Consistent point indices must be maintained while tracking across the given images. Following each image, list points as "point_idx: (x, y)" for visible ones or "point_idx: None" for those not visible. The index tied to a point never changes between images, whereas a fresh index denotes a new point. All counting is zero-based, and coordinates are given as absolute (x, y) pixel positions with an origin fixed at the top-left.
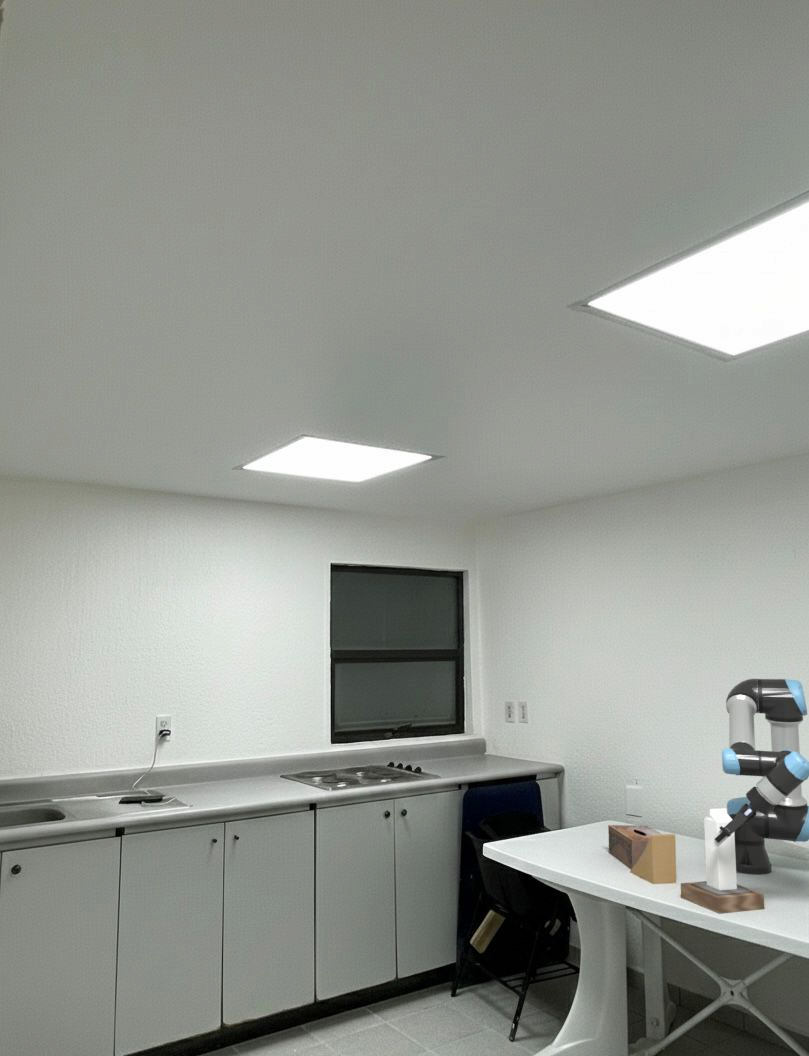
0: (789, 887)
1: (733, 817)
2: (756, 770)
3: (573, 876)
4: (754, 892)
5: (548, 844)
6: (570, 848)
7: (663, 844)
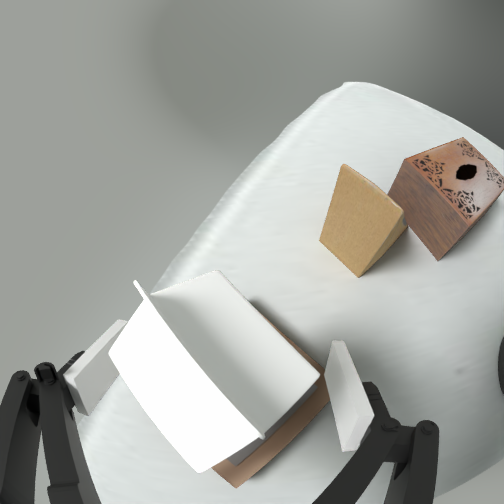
0: (451, 474)
1: (424, 430)
2: None
3: (281, 140)
4: (239, 469)
5: (416, 116)
6: (423, 132)
7: (363, 204)
